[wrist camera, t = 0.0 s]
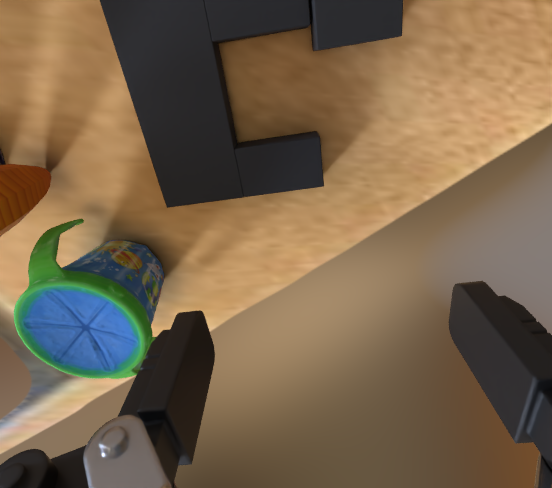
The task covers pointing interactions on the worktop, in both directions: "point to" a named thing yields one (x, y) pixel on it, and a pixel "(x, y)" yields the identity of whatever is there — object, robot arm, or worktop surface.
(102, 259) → the snack cup
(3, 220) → the carrot
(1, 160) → the dark blue oil drum
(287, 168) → the base pad
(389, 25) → the small block
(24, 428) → the worktop surface
